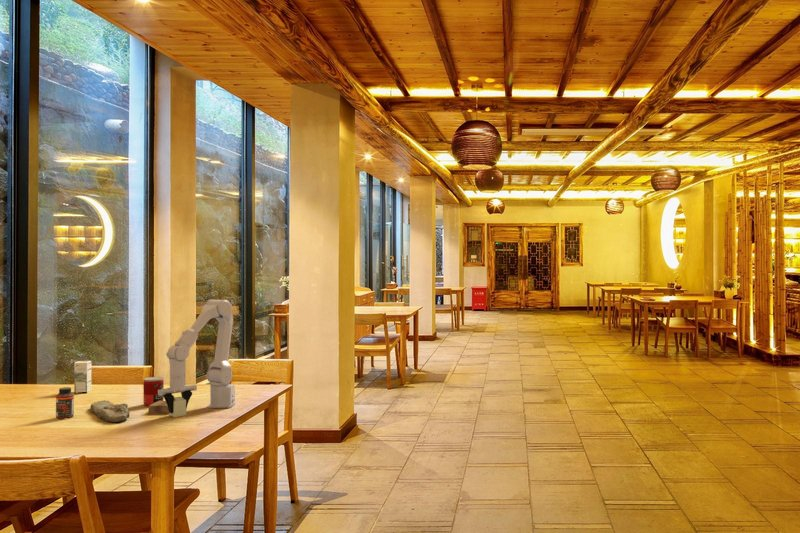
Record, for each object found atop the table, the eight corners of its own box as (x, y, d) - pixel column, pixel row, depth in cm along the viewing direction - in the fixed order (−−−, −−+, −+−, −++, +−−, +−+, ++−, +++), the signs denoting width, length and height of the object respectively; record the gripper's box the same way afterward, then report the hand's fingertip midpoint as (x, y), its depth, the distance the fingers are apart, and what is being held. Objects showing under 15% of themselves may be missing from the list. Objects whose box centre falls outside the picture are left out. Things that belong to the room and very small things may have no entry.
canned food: (156, 406, 243) (156, 380, 243) (139, 406, 245) (139, 379, 245) (167, 403, 251) (167, 377, 251) (150, 402, 252) (150, 376, 252)
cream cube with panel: (181, 413, 232) (181, 395, 232) (185, 415, 228) (185, 397, 228) (169, 415, 228) (169, 397, 228) (174, 417, 225) (174, 399, 225)
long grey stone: (111, 409, 247) (85, 414, 240) (110, 396, 247) (84, 401, 241) (136, 419, 220) (107, 425, 214) (135, 405, 220) (106, 411, 214)
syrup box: (91, 390, 278) (91, 360, 278) (86, 393, 272) (87, 361, 273) (79, 391, 277) (79, 360, 278) (73, 393, 272) (73, 362, 272)
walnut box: (180, 409, 240) (180, 400, 240) (171, 414, 231) (171, 405, 231) (159, 409, 240) (159, 400, 240) (148, 414, 231) (148, 405, 231)
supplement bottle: (55, 420, 221) (55, 390, 222) (56, 417, 227) (56, 387, 227) (73, 418, 224) (73, 388, 224) (73, 415, 229) (74, 386, 230)
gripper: (163, 380, 221) (163, 416, 220) (200, 375, 231) (200, 410, 230) (155, 377, 226) (155, 413, 226) (192, 373, 236) (192, 407, 236)
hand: (177, 411), depth 228 cm, fingers closed on cream cube with panel, 5 cm apart
